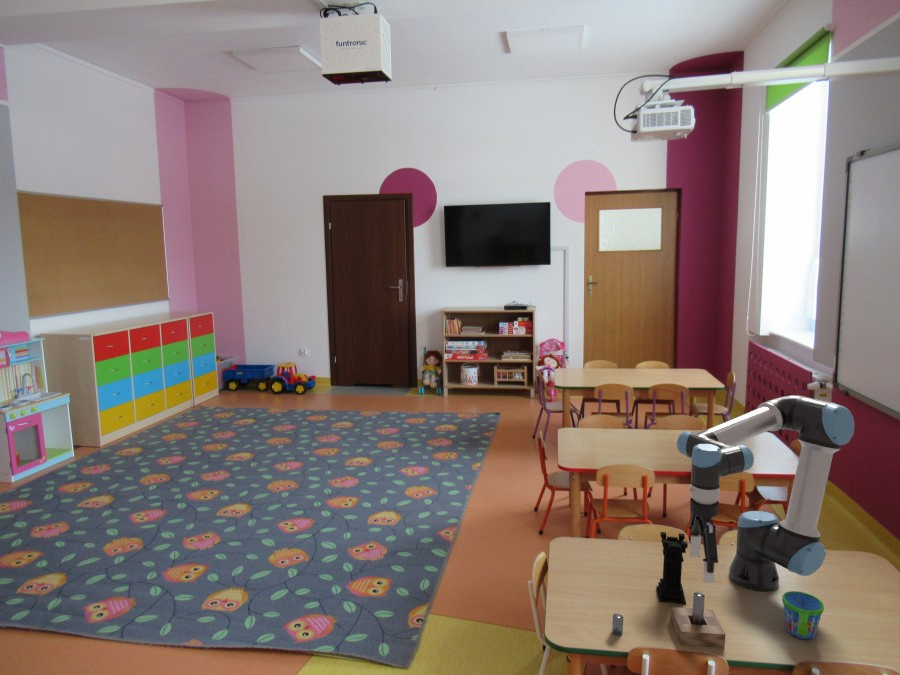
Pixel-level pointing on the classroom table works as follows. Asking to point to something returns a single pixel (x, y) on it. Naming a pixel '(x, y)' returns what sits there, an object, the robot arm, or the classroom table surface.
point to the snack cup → (802, 614)
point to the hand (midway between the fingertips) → (701, 568)
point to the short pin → (617, 624)
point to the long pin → (698, 608)
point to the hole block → (697, 628)
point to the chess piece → (672, 569)
